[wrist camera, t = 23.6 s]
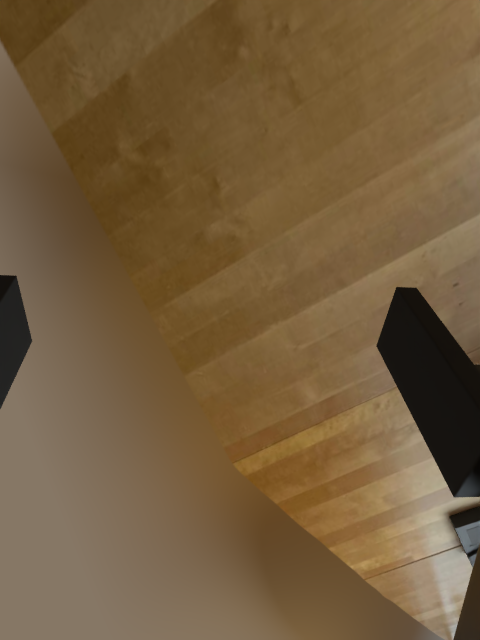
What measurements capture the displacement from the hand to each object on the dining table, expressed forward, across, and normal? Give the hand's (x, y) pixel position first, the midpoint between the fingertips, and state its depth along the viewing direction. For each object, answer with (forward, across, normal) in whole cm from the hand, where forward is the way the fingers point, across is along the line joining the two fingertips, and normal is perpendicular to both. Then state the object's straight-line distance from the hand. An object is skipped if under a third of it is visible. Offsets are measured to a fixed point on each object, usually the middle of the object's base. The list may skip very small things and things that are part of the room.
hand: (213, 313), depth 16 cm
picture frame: (+25, +56, -59) cm, 85 cm away
